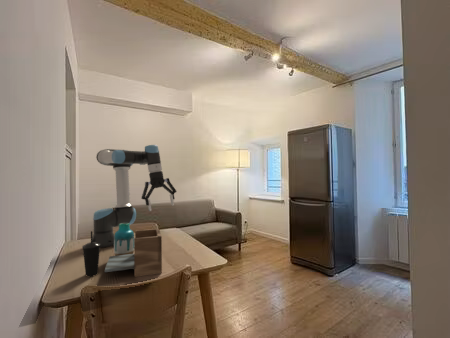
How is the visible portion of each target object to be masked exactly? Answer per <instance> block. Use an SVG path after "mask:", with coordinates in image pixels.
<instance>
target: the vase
mask: <svg viewBox="0 0 450 338" xmlns="http://www.w3.org/2000/svg"><path fill="white" fill-rule="evenodd" d="M130 227H131V225H129V223H121V224H119V227H118V230H117V231H115V233H114V245H113V253H114V256H118V255H127V254H134V238H135V231H133V229H131V228H130Z"/></svg>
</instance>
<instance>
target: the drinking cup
mask: <svg viewBox="0 0 450 338" xmlns="http://www.w3.org/2000/svg"><path fill="white" fill-rule="evenodd" d="M92 237H93V231H90V242H87V243H85V244H82V246H81V248H82V252H83V262H84V270H85V271H84V272H85V276H86V275H87V276H90V277H94V276H93V275H95V276H96V274H97V273H99V272H98V271H99V262H100V251H101V248H100V245H101V244H100V243H97V242H92ZM97 275H98V274H97ZM87 276H86V277H87Z"/></svg>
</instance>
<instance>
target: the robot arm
mask: <svg viewBox="0 0 450 338" xmlns="http://www.w3.org/2000/svg"><path fill="white" fill-rule="evenodd" d="M95 158H96V161H97V162H98V163H99V164H101V165H102V166H110V167H112V169H113V170H114V172H115V186H116V192H115V193H116V205H115V206H114V208H111V207H108V208H102V209H98V210H95V212H94V213H93V218H92V220H93V233H92V242H97V243H100V244H101V245H100V249H101V248H107V247H112V246H114V235H115V233H114V228H119V224H121V223H129V226H131V225H133V224H134V223H135V221H136V219H137V211H136V208H135V207H133V204H131V197H130V195H131V193H130V175H129V170H130V169H131V167H132V166H133V165H140V166H141V165H143V166H144V165H147V171H148V175H149V181H144V188H143V192H142V194H141V199H142V200H144V201H145V205H146V206H147V207H148V211H149V212H152V205H151V199H150V196H151V195H152V193H153V192H154V190H155V189H158V188H163V189H164V190H166V191H167V192H168V193H169V199H170V205H171V206H172V207H173V206H175V193H177V189H175V187H174V186H173V184H172V183H171V181H170V178H169V177H167V178H164V173H163V171H162V170H163V168H162V161H161V155H160V149H159V147H158V144H149V145H148V144H147V145H145V146H144V150H143V151H141V150H128V149H113V148H111V149H110V148H105V149H101V150H99V151H97V153H96V157H95ZM165 183H166V184H167V185H166V184H165ZM150 185H151V186H150ZM149 186H150V189H149ZM148 189H149V191H148Z"/></svg>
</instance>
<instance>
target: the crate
mask: <svg viewBox="0 0 450 338" xmlns="http://www.w3.org/2000/svg"><path fill="white" fill-rule="evenodd" d="M162 249H163V248H162V234H161V231H160V228H150V229H138V230H135V231H134V253H133V254H127V255H118V256H115V255H112V256H111V255H110V256H109V257H108V260H107V263H106V265H105V268H104V273H108V272H117V271H125V270H132V269H133V270H134V277H135V278H136V277H142V276H150V275H156V274H157V275H158V274H163V273H162V271H163V269H162V268H163V263H162V261H163V260H162V259H163V258H162V257H163V255H162V254H163V253H162Z"/></svg>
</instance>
